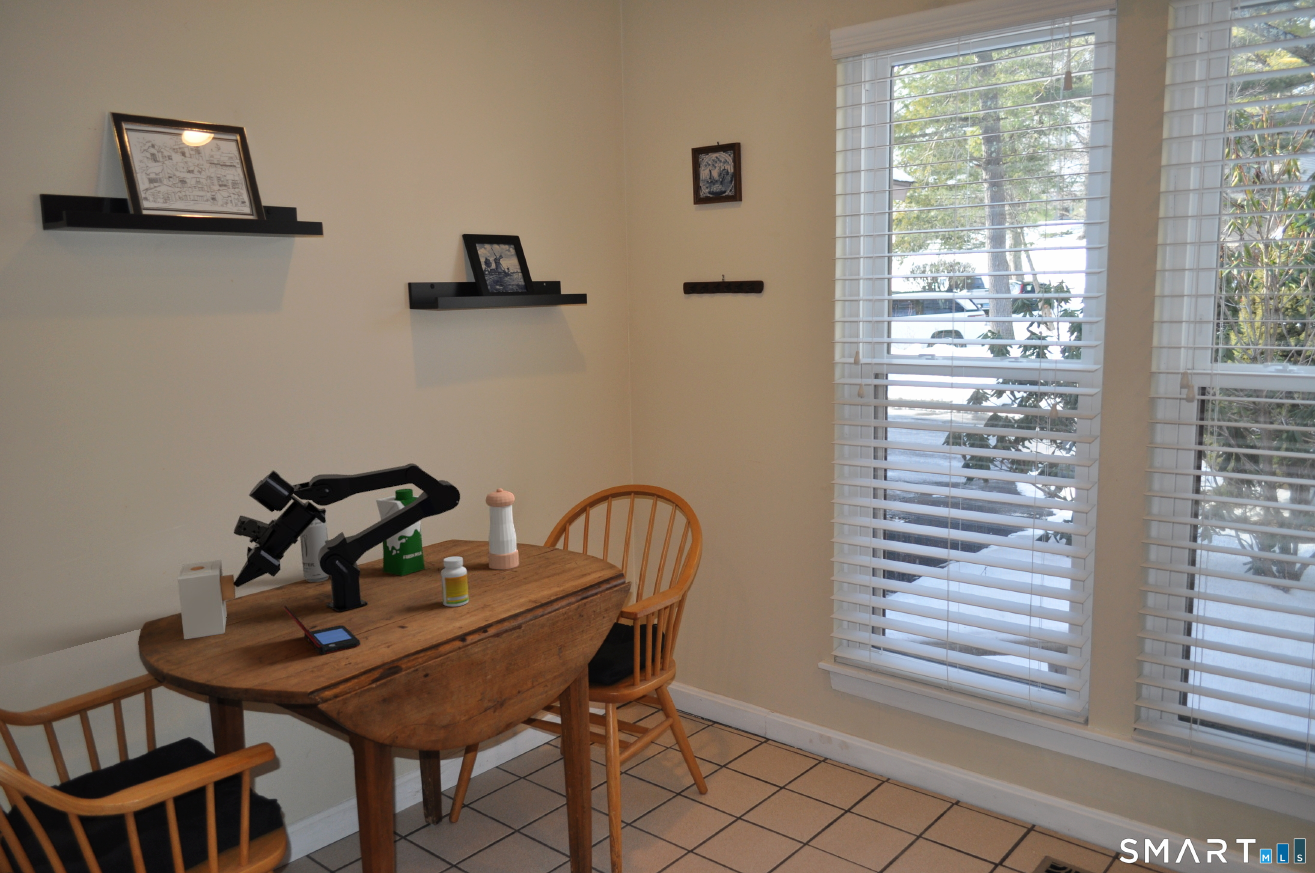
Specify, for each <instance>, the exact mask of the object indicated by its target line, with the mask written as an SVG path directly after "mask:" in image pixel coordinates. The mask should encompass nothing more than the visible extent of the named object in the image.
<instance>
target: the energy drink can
mask: <svg viewBox="0 0 1315 873" xmlns="http://www.w3.org/2000/svg"><path fill="white" fill-rule="evenodd" d="M327 526H328V524H327V522H326V523H322V522H321V521H320V520H318V519H317V518H316V519H315V520H314V521H313V522H312V523H311V524H310V525H309V526H308V528H307V529H306V530H305V531H304V532H303V533H302V534H301V535H300V536H299V539H300V540H299V541H300V552H301V564H302V573H303V579H305V580H306V582H307V581H308V582H309V583H318V582H325V581H327V580H328V579H329V578H330V575H327V574H326V573H324V572H323V571H322V569H321V567H320V564H319V560H318V553H319V551H320V549H321V547H323V546H324V545H325V541H327V540H329V538H328V527H327Z"/></svg>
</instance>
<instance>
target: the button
mask: <svg viewBox="0 0 1315 873" xmlns="http://www.w3.org/2000/svg"><path fill="white" fill-rule="evenodd" d="M234 582H235V576H234V574H225V575H223V576H220V585H221V595H222V601H225V602H226V601H232V600H236V586H235V585H234Z"/></svg>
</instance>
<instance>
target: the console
mask: <svg viewBox="0 0 1315 873" xmlns="http://www.w3.org/2000/svg"><path fill="white" fill-rule="evenodd" d="M223 572H224V571H223V565H222V560H221V559H214V560H209V561H208V560H207V561H201V562H193V563H191V562H190V563H185V564H182V567H181V570H180V572H179V575H178V577H177V586H178V596H179V601H180V602H179V603H180V612H181V622H182V632H183V640H188V639H189V640H190V639H195V638H196V639H198V638H202V637H209V636H215V635H222V634H225V631H226V626H227V618H226V617H228V615H227V605H226V604H227V602H226V601H222V595H221V585H220V576H224V575H223V574H224V573H223Z"/></svg>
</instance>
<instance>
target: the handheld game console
mask: <svg viewBox="0 0 1315 873" xmlns="http://www.w3.org/2000/svg"><path fill="white" fill-rule="evenodd" d="M284 610H285V611H286V612H287V613H288V614H289V616H290V617H291V619H292V620H293V621H294V622H295V623H296V624H297V625H298V627H299V628H300V629H301V631H303V632H304V635H303V636H304V638H305V639H306V640H307V641H308V643H310V644H311V643H312V644H311V645H313V646H314V649H315V650H316V652H317V653H318V654H319V655H321V656H324V655H327V653H328V654H331V653H335V652H341V651H345V649H346V650H349V649H354V648H358V647H359V646H361V640H360V639H358V637H357V636H356V635H355V634H354V633H353V632H351V631H350V630H349V628H347V627H346V625H343V624H341V625H340V624H339V625H334V626H331V627H326V628H321V629H316V630H315V629H314V630H310V629H308V628H306V626H305V625H304V624H303V622H302V621H301V620H299V618H298V617H297V616H296V615H295V614H294V613H293V612H292V611H291V610H290V608H289V607H288V606H286V605H284ZM357 646H358V647H357Z"/></svg>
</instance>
